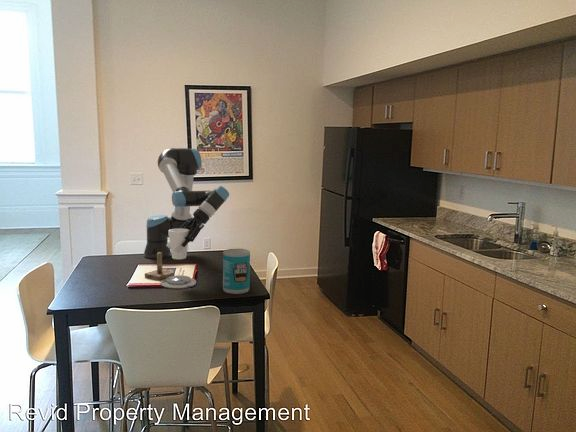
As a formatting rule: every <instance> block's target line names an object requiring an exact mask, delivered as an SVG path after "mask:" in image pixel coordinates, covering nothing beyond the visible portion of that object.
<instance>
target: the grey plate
mask: <svg viewBox="0 0 576 432" xmlns="http://www.w3.org/2000/svg"><path fill="white" fill-rule="evenodd" d="M196 284H197V279H195V278H193V277H190V276H188V275H175V276H171V277H168V278H167V279H164V280H161V281H160V285H161V287H163V288H166V289H171V290H174V289H175V290H181V289H182V290H183V289H188V288H192V287H194V286H196Z"/></svg>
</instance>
